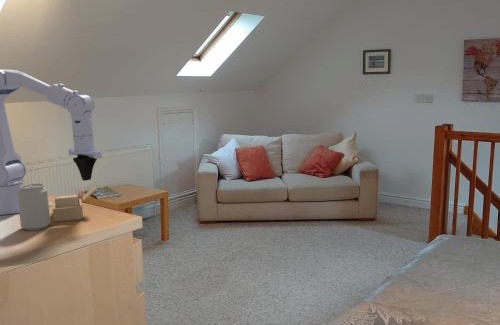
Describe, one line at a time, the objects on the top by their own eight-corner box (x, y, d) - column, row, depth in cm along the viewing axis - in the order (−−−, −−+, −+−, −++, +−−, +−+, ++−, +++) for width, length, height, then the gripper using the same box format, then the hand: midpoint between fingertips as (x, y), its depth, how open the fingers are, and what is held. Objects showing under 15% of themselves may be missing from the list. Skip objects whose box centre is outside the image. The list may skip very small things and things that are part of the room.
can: (39, 232, 127) (35, 188, 125) (15, 230, 129) (10, 187, 127) (56, 223, 135) (52, 182, 132) (32, 222, 136) (28, 182, 134)
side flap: (95, 188, 143) (96, 189, 143) (94, 185, 147) (95, 186, 147) (83, 200, 142) (83, 201, 142) (82, 196, 146) (83, 197, 147)
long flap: (54, 198, 131) (54, 199, 131) (77, 196, 133) (77, 197, 133) (56, 206, 135) (56, 207, 135) (78, 204, 137) (78, 205, 137)
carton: (40, 211, 148) (39, 198, 147) (81, 207, 152) (80, 194, 152) (38, 224, 134) (36, 210, 133) (83, 219, 138) (82, 205, 138)
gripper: (57, 135, 143) (61, 179, 145) (85, 138, 134) (88, 185, 136) (78, 133, 148) (82, 175, 150) (106, 135, 139) (109, 180, 141)
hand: (86, 179), depth 144 cm, fingers closed
